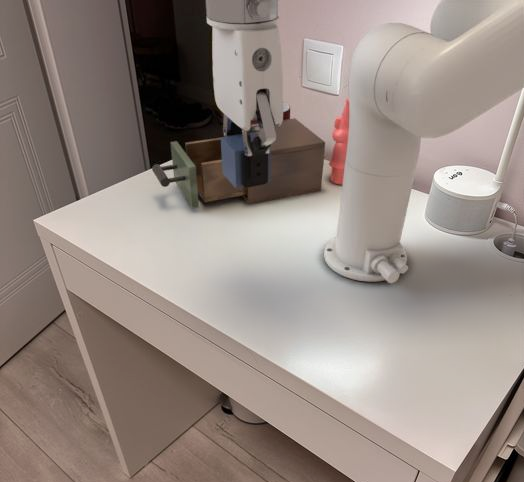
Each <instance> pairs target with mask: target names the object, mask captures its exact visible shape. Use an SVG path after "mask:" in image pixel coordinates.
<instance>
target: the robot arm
mask: <svg viewBox="0 0 524 482" xmlns="http://www.w3.org/2000/svg"><path fill="white" fill-rule="evenodd" d="M280 6H281V5H280V0H205V14H206V16H205V17H206V24H207V25H209V26H211V27H212V36H211V40H212V41H211V43H212V44H211V45H212V46H211V47H212V48H211V50H212V51H211V52H212V53H211V54H212V56H211V57H212V59H211V61H212V81H213V82H212V84H213V91H214V92H213V95H214V101H215V103H216V106H217V108H218V109H219V110H220V112H221V117H222V119H223V120H222V121H223V122H222V124H223V125H222V133H223V132H224V135H225V136H233V135H239V134H242V135H243V144H244V152H245V154H241V159H242V185H243V186H244V187H245V188H249V187H254V186H258V185H263V184H266V183H267V182H268V153H269V152H270V145H271V143H273V142H274V141H275V140H276V132H275V128H274V125H275V126H280V125H281V124H282V121H283V102H284V76H283V56H282V47H281V37H280V30H279V26H278V24H280ZM429 28H430V32H428V31H425V30H422V29H420V28H418V27H415V26H412V25H410V24H406V23H402V22H387V23H383V24H380V25H377V26H376V27H373V28H372V29H370V31H368V32H367V33H366V34H365V35H364V36H363V37H362V38H361V40H360V41H359V42H358V44H357V45H356V47H355V49H354V52H353V54H352V56H351V60H350V62H349V63H350V64H349V67H348V68H349V70H348V98H349V135H348V145H347V153H346V161H345V168H344V177H343V185H342V187H341V195H340V204H339V212H338V221H337V229H336V236H334V237H333V238H331V239H330V240H329V241H328V242H327V243H326V245H325V247H324V252H323V259H324V261H325V263H326V264H327V266H328V267H329V268H330V269H331V270H332V271H334V272H335V273H336V274H338V275H340V276H342V277H345V278H348V279H351V280H354V281H359V282H360V281H361V282H383V281H386V282H387V283H389V284H394V283H396V282H397V281H398V280H399V278H400V274H405V273H406V272H407V271H408V270H409V266H408V265H407V262H408V254H407V252H406V250H405V249H404V246H403V244H401V241H402V235H403V230H404V227H405V222H406V217H407V212H408V208H409V204H410V203H409V202H410V197H411V193H412V188H413V184H414V180H415V175H416V169H417V166H418V161H419V157H420V153H421V152H420V151H421V141H422V138H423V139H436V138H441V137H443V136H447V135H449V134H451V133H453V132H455V131H458V130H459V129H460V128H462V127H464V126H466V125H467V124H469V123H470V122H472V121H473V120H475V119H477V118H479V117H480V116H481V115H484V114H485V113H486V112H488V111H490V110H491V109H493V108H494V107H496V106H497V105H500V103H502V102H504V101H506V100H507V99H508V98H511V96H513V95H515V94H516V93H518V92H520V91H521V90H523V89H524V0H440V1H439V2H438V4H437V6H436V7H435V9H434V12H433V14H432V16H431V20H430V26H429ZM253 120H258V125H250V124H251V121H253ZM258 131H260V133H259V136H258V137H254V139H253V140H252V142H251V135H250V133H252V132H258Z"/></svg>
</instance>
